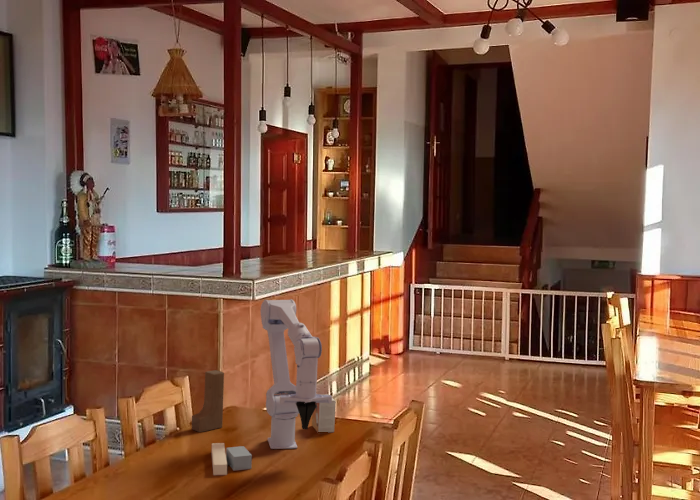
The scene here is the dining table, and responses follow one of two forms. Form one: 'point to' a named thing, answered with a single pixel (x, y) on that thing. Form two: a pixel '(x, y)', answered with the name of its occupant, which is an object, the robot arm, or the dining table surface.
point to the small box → (324, 416)
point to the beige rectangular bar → (219, 459)
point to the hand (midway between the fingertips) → (304, 428)
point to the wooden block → (211, 403)
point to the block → (238, 458)
